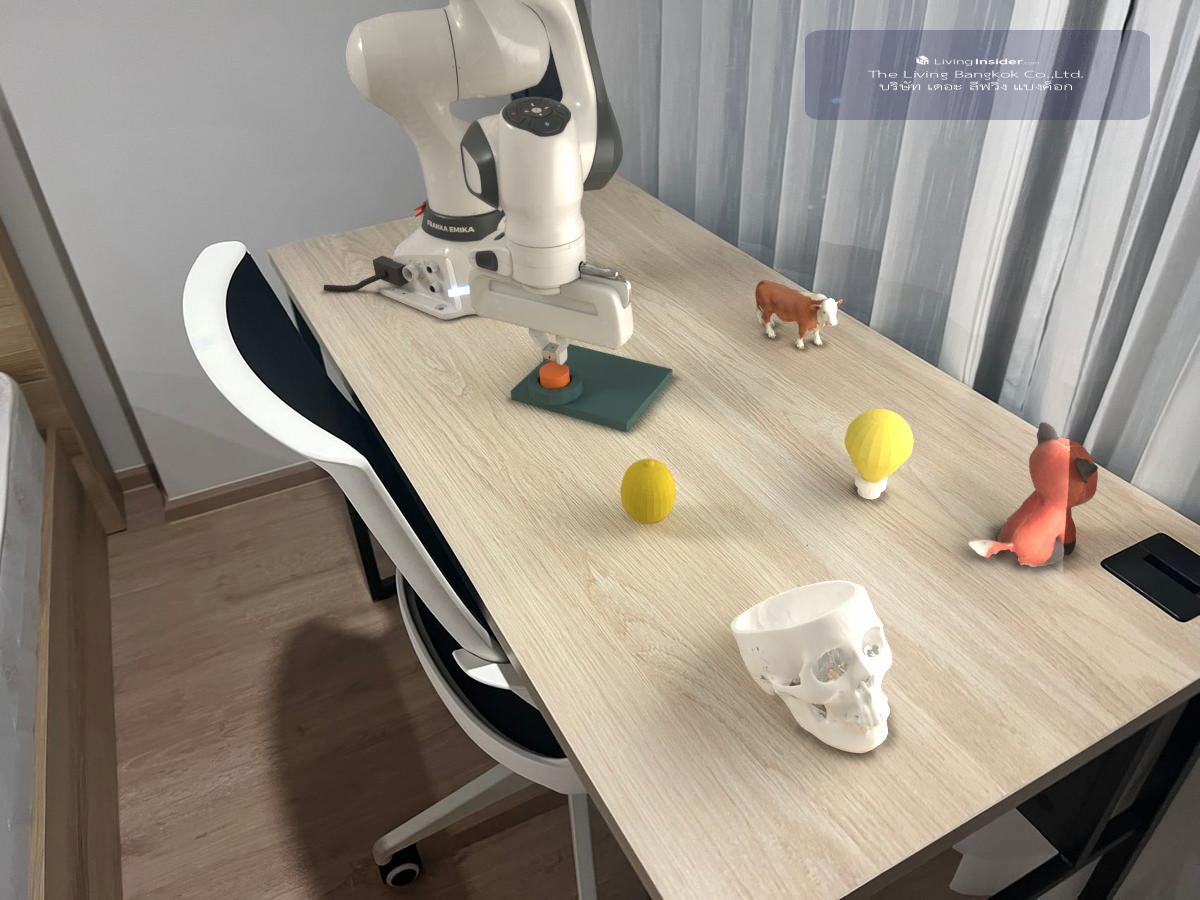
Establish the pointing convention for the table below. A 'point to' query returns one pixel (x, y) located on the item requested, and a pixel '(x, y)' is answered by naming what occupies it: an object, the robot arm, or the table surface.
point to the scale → (597, 388)
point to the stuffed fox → (1047, 503)
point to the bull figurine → (795, 309)
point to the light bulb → (877, 448)
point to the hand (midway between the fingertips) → (553, 360)
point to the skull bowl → (821, 660)
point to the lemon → (648, 491)
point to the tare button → (554, 376)
